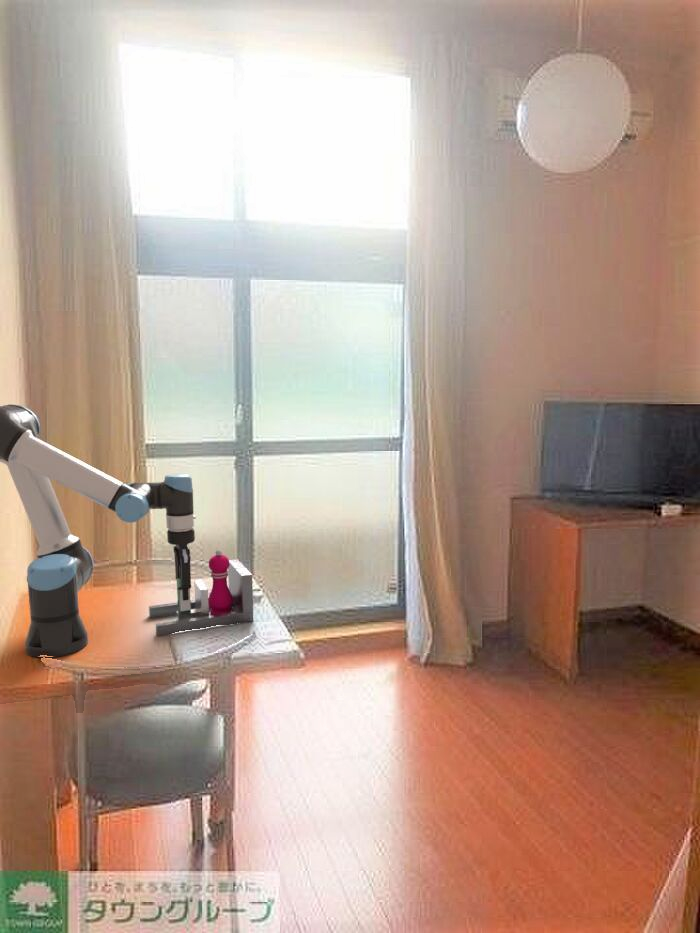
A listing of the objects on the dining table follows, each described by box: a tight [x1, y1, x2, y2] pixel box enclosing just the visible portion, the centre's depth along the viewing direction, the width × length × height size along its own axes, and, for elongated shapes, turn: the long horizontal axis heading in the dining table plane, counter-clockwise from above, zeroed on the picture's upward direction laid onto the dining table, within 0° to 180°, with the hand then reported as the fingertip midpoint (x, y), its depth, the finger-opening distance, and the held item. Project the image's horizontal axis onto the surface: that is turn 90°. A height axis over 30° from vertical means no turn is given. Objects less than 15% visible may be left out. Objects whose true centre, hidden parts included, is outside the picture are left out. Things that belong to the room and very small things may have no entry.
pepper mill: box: [208, 549, 233, 616], centre depth 198 cm, size 7×7×20 cm
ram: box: [176, 578, 210, 621], centre depth 195 cm, size 8×10×12 cm
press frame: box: [148, 559, 254, 637], centre depth 196 cm, size 27×17×14 cm, turn 113°
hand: (184, 607), depth 194 cm, fingers closed on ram, 4 cm apart
